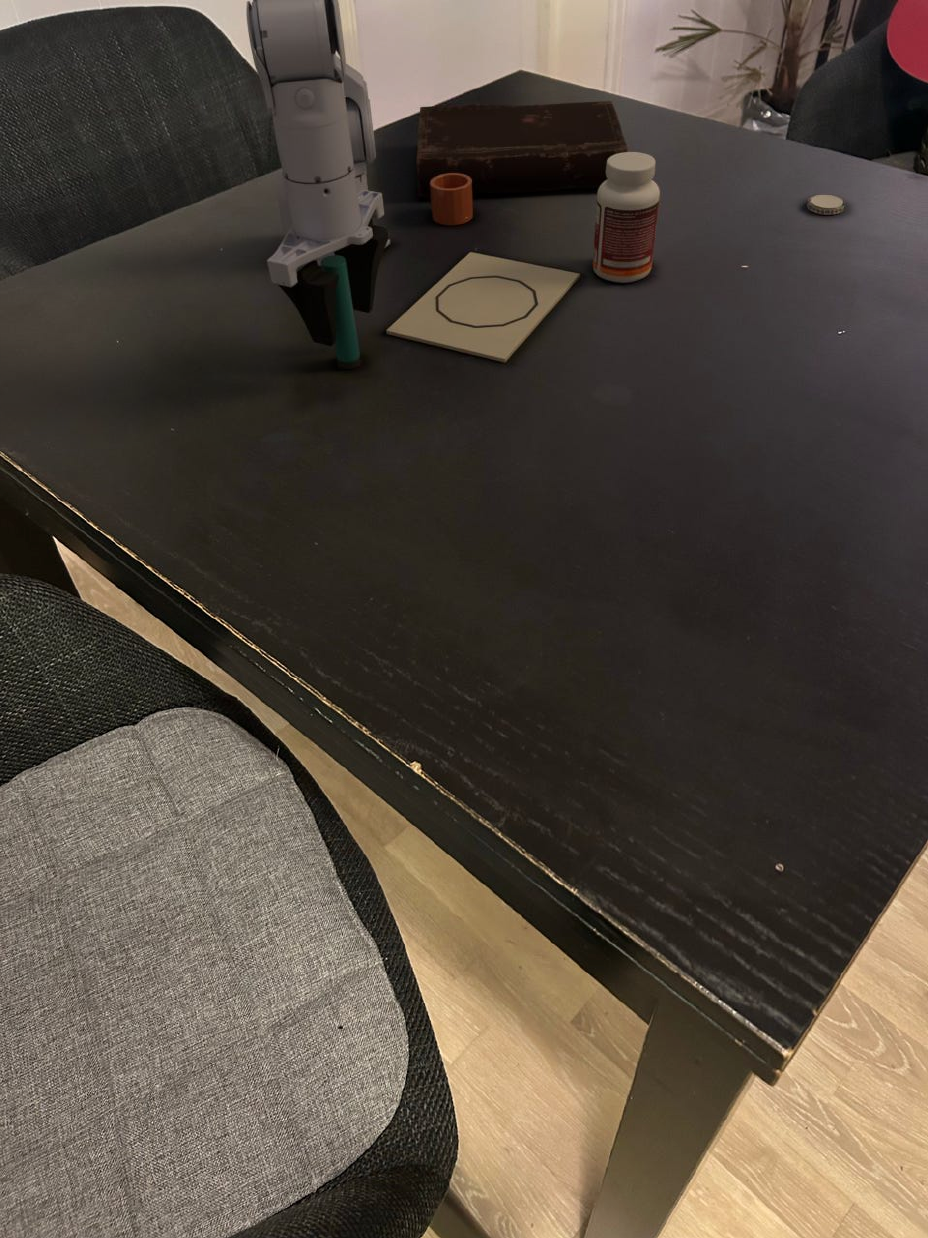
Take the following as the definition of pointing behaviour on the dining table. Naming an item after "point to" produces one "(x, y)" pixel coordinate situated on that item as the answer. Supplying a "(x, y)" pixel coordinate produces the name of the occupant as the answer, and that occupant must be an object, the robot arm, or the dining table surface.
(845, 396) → the dining table surface
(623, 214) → the pill bottle
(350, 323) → the marker
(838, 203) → the beige bottle cap
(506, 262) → the sketch pad
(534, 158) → the diary
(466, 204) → the pen cup
